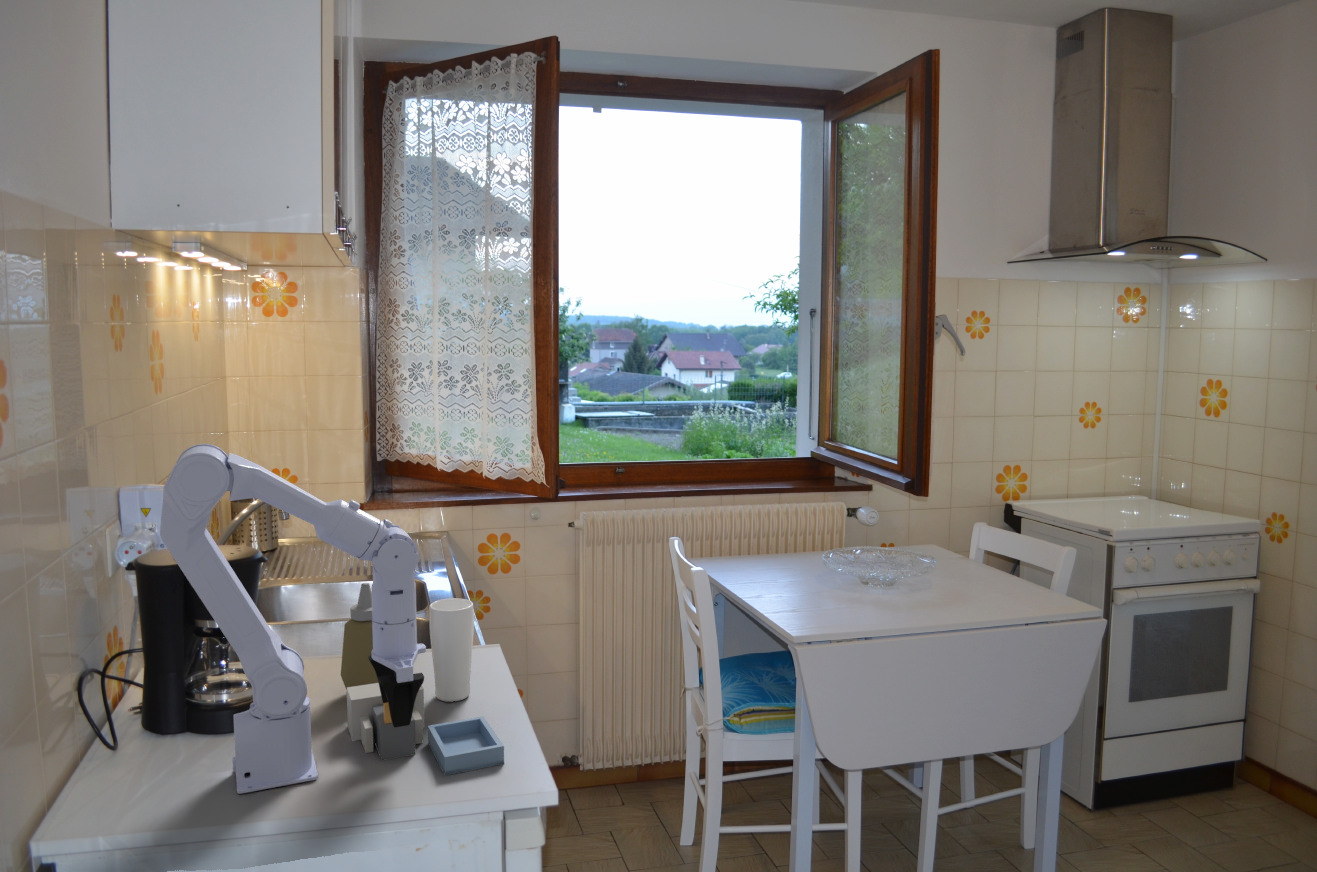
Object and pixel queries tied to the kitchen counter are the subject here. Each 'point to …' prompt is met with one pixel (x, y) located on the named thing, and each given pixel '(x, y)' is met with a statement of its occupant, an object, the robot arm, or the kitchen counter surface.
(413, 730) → the gray block with tab
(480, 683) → the kitchen counter surface
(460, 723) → the tray
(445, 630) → the drinking glass
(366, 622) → the squeeze bottle
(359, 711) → the bay
